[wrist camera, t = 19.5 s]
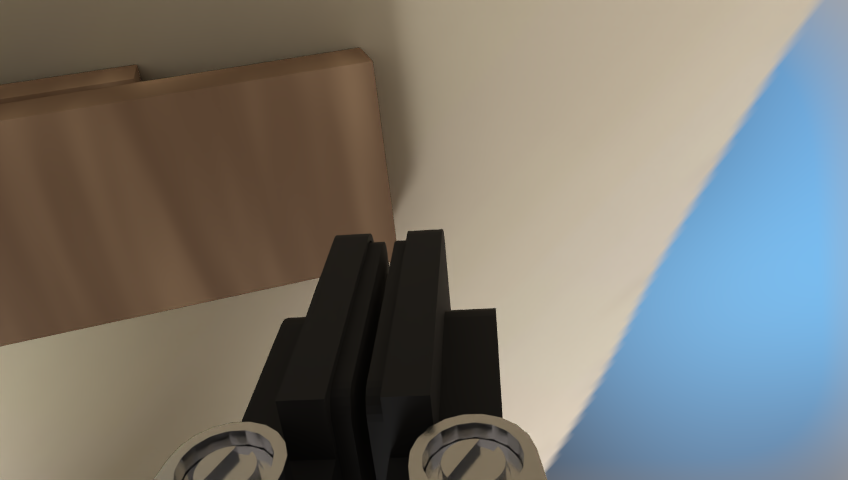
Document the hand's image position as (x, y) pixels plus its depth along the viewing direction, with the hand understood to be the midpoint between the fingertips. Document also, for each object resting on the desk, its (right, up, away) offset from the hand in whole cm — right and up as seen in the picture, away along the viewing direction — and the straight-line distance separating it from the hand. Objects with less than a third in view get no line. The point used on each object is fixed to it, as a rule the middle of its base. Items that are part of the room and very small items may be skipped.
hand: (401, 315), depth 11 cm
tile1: (-1, +3, +6) cm, 7 cm away
